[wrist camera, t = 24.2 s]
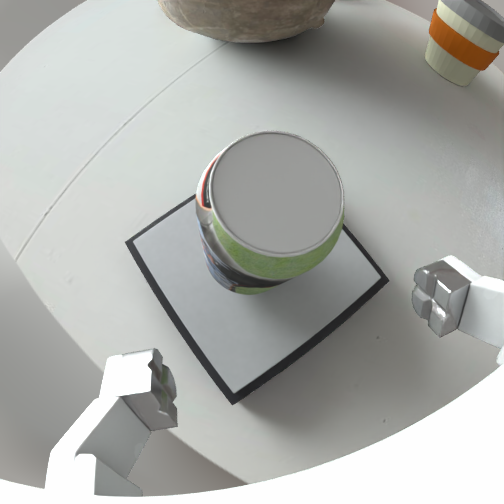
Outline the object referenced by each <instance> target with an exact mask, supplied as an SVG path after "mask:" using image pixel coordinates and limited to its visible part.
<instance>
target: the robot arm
mask: <svg viewBox="0 0 504 504" xmlns="http://www.w3.org/2000/svg"><path fill="white" fill-rule="evenodd" d="M414 282H415V283H416V284H417V285H416V286H415V288H414V290H413V291H412V304H413V308H414V310H415V312H416V313H417V314H418V315H419V316H420V318H423V319H426V320H428V326H429V327H430V328H431V329H432V330H433V331H434V333H435V334H436V335H437V336H438V337H439V338H441V337H442V336H444V335H446V334H448V333H450V332H452V331H454V330H456V329H458V330H460V331H462V332H464V333H466V334H469V335H471V336H473V337H475V338H477V339H480V340H482V341H484V342H486V343H488V344H491V345H493V346H495V347H497V348H499V349H501V350H500V353H499V355H498V357H497V360H496V363H497V364H498V365H499V366H500V367H499V368H498V369H496V370H495V371H494V372H493V373H491V374H490V375H489V376H488V377H486V378H485V379H484V380H482V381H481V382H480V383H478V384H477V385H475V386H474V387H473V388H471V389H470V390H468V391H467V392H465V393H464V394H463V395H461V396H460V397H458V398H457V399H455V400H454V401H452V402H450V403H449V404H447V405H446V406H444V407H443V408H441V409H439V410H438V411H436V412H434V413H433V414H431V415H429V416H428V417H426V418H424V419H422V420H421V421H419V422H417V423H415V424H413V425H411V426H410V427H408V428H406V429H404V430H402V431H400V432H398V433H396V434H394V435H392V436H390V437H388V438H386V439H384V440H382V441H379V442H377V443H375V444H373V445H371V446H368V447H366V448H364V449H361V450H359V451H357V452H354V453H352V454H349V455H347V456H344V457H341V458H339V459H336V460H333V461H331V462H328V463H325V464H322V465H319V466H316V467H313V468H310V469H307V470H304V471H300V472H297V473H294V474H290V475H287V476H283V477H279V478H275V479H271V480H267V481H263V482H259V483H254V484H250V485H245V486H240V487H235V488H229V489H223V490H216V491H209V492H202V493H193V494H184V495H171V496H152V497H143V492H142V489H140V487H138V486H137V485H135V484H134V483H132V482H131V481H129V480H127V477H128V475H129V473H130V471H131V469H132V468H133V466H134V464H135V462H136V460H137V459H138V457H139V455H140V453H141V451H142V449H143V448H144V446H145V444H146V442H147V440H148V438H149V436H150V435H151V431H155V430H161V429H167V428H173V427H178V423H177V408H176V406H175V405H174V403H173V401H174V399H175V398H176V396H177V395H176V385H175V381H174V378H173V375H172V373H171V371H170V369H169V367H167V366H165V365H163V364H162V358H163V357H162V355H161V354H160V352H159V351H158V349H155V348H154V349H148V350H143V351H137V352H132V353H126V354H122V355H116V356H110V357H109V358H108V359H107V363H106V367H105V372H104V377H103V381H102V386H101V392H100V397H99V399H95V400H94V401H93V402H92V403H91V405H90V406H89V407H88V408H87V409H86V411H85V412H84V413H83V414H82V415H81V416H80V417H79V419H78V420H77V421H76V422H75V423H74V425H73V426H72V427H71V428H70V429H69V430H68V432H67V433H66V434H65V435H64V437H63V438H62V439H61V440H60V441H59V442H58V444H57V445H56V446H55V447H54V449H53V450H52V451H51V454H50V459H49V466H48V471H47V477H46V484H45V489H41V488H36V487H31V486H27V485H22V484H18V483H13V482H10V481H6V480H2V479H0V504H504V280H501V279H497V278H492V277H488V276H484V277H482V276H480V275H479V274H478V273H476V272H475V271H474V270H472V269H471V268H470V267H468V266H467V265H466V264H464V263H463V262H461V261H460V260H459V259H457V258H456V257H454V256H451V255H449V256H447V257H445V258H442V259H440V260H439V261H436V262H434V263H431V264H429V265H426V266H424V267H421V268H419V269H417V270H416V272H415V274H414Z"/></svg>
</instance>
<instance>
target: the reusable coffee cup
mask: <svg viewBox="0 0 504 504" xmlns="http://www.w3.org/2000/svg"><path fill="white" fill-rule="evenodd" d="M429 34H430V38H429V42H428V45H427V49H426V52H425V59H426V61H427V63H428V64H429V65H430V66H431V67H432V68H433V69H434V70H435V71H436V72H437V73H438V74H440V75H441V76H442V77H444V78H445V79H447V80H448V81H450V82H452V83H454V84H457V85H459V86H467V85H468V84H469V83H470V82H471V81H472V80H473V79H474V78H475V77H476V75H477V74H478V73H479V72H480V71H483V70H485V69H486V68H487V67H488V66H489V65H490V64H491V63H492V62H493V60H494V59H495V58H496V57H497V56H498V55H499V49H500V48H501V47H502V46H503V45H504V18H503V17H502V16H501V15H500V14H499V13H497V12H496V11H495V10H494V9H492V8H491V7H490V6H488V5H487V4H486V3H484V2H483V1H481V0H439V2H438V6H437V8H436V9H434V12H433V16H432V21H431V24H430V28H429Z"/></svg>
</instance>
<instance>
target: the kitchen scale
mask: <svg viewBox="0 0 504 504" xmlns="http://www.w3.org/2000/svg"><path fill="white" fill-rule="evenodd" d="M195 199H196V194H194V195H193V196H191V197H190V198H188V199H187V200H185V201H183V202H182V203H180V204H179V205H177V206H176V207H174V208H173V209H171V210H170V211H169V212H167V213H166V214H164V215H163V216H161V217H160V218H158V219H157V220H155V221H154V222H152V223H151V224H150V225H148V226H147V227H145V228H144V229H143V230H141V231H140V232H138V233H137V234H135V235H134V236H133V237H131V238H130V239H129V240H127V241H126V242H125V243H126V245H127V247H128V249H129V251H130V252H131V254H132V256H133V258H134V260H135V261H136V263H137V265H138V267H139V268H140V270H141V272H142V273H143V275H144V277H145V278H146V280H147V282H148V284H149V285H150V287H151V288H152V290H153V292H154V293H155V295H156V297H157V298H158V300H159V301H160V303H161V305H162V306H163V308H164V309H165V311H166V313H167V314H168V316H169V317H170V319H171V320H172V322H173V323H174V325H175V326H176V328H177V329H178V331H179V332H180V334H181V335H182V337H183V338H184V340H185V341H186V343H187V344H188V346H189V347H190V349H191V350H192V352H193V353H194V354H195V356H196V357H197V359H198V360H199V361H200V363H201V364H202V366H203V367H204V368H205V370H206V371H207V373H208V374H209V375H210V377H211V378H212V379H213V381H214V382H215V383H216V385H217V386H218V387H219V389H220V390H221V391H222V393H223V394H224V395H225V397H226V398H227V399H228V400H229V402H230V403H231V404H232V405H234V404H235V403H237V402H238V401H240V400H241V399H243V398H244V397H246V396H247V395H249V394H250V393H252V392H253V391H255V390H256V389H257V388H259V387H260V386H262V385H263V384H265V383H266V382H267V381H269V380H270V379H272V378H273V377H274V376H276V375H277V374H279V373H280V372H282V371H283V370H285V369H286V368H287V367H289V366H290V365H291V364H293V363H294V362H295V361H297V360H298V359H299V358H300V357H302V356H303V355H304V354H306V353H307V352H308V351H309V350H311V349H312V348H313V347H315V346H316V345H317V344H318V343H320V342H321V341H322V340H323V339H324V338H326V337H327V336H328V335H329V334H331V333H332V332H333V331H334V330H335V329H337V328H338V327H339V326H340V325H341V324H343V323H344V322H345V321H346V320H347V319H348V318H350V317H351V316H352V315H353V314H354V313H355V312H356V311H357V310H358V309H359V308H361V307H362V306H363V305H364V304H365V303H366V302H367V301H368V300H369V299H371V298H372V297H373V296H374V295H375V294H376V293H377V292H378V291H379V290H380V289H381V288H383V287H384V286H385V285H386V284H387V283H388V282H389V279H388V278H387V277H386V275H385V274H384V273H383V272H382V270H381V269H380V268H379V266H378V265H377V264H376V263H375V261H374V260H373V259H372V258H371V256H370V255H369V254H368V253H367V251H366V250H365V249H364V248H363V246H362V245H361V244H360V243H359V242H358V240H357V239H356V238H355V237H354V235H353V234H352V233H351V232H350V231H349V229H348V228H347V227H346V226H345V225H344V224H343V226H342V230H341V233H340V236H339V239H338V241H337V243H336V244H335V246H334V248H333V249H332V251H331V252H330V253H329V254H328V256H327V257H326V258H325V259H324V260H323V261H322V262H321V263H319V264H318V265H317V266H315V267H314V268H313V269H311V270H309V271H307V272H305V273H303V274H301V275H299V276H297V277H295V278H293V279H291V280H289V281H287V282H285V283H282V284H280V285H278V286H276V287H274V288H272V289H270V290H268V291H266V292H263V293H260V294H255V295H244V294H238V293H235V292H232V291H230V290H228V289H226V288H224V287H223V286H222V285H220V284H219V283H218V282H217V281H216V280H215V279H214V278H213V276H212V275H211V273H210V271H209V269H208V267H207V265H206V261H205V256H204V252H203V247H202V242H201V237H200V232H199V227H198V222H197V217H196V207H195Z"/></svg>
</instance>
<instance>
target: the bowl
mask: <svg viewBox="0 0 504 504" xmlns="http://www.w3.org/2000/svg"><path fill="white" fill-rule="evenodd" d="M334 1H335V0H158V3H159V5H160V7H161V8H162V10H163V11H164V13H165V14H166V15H167V17H168V18H169V19H171V20H172V21H173V22H174V23H176V24H177V25H178V26H180V27H182V28H184V29H186V30H188V31H192V32H195V33H198V34H201V35H204V36H207V37H210V38H213V39H217V40H222V41H230V42H244V43H260V42H269V41H275V40H281V39H285V38H290V37H293V36H295V35H298V34H300V33H302V32H304V31H306V30H308V29H310V28H319V27H321V26H322V25H323V24H324V16H325V15H326V14H327V13H328V11H329V9H330V7H331V6H332V4H333V3H334Z"/></svg>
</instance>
